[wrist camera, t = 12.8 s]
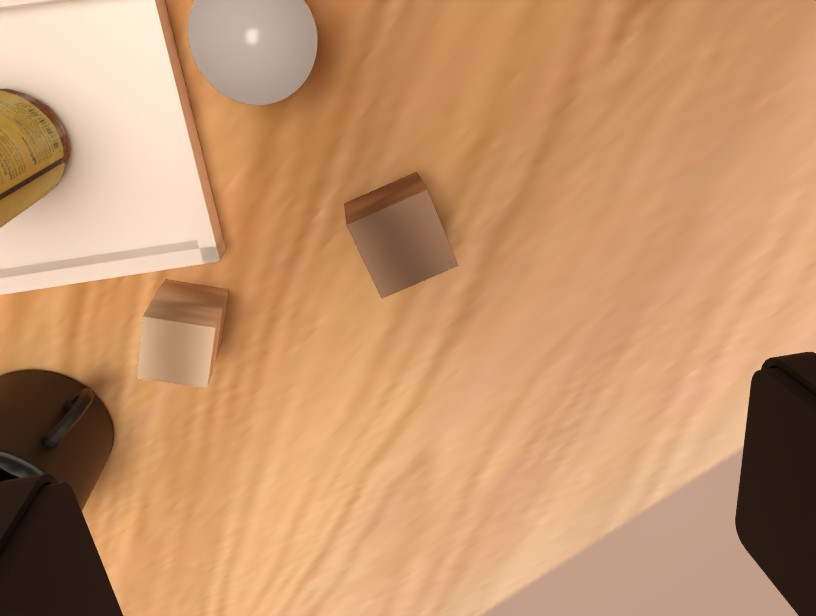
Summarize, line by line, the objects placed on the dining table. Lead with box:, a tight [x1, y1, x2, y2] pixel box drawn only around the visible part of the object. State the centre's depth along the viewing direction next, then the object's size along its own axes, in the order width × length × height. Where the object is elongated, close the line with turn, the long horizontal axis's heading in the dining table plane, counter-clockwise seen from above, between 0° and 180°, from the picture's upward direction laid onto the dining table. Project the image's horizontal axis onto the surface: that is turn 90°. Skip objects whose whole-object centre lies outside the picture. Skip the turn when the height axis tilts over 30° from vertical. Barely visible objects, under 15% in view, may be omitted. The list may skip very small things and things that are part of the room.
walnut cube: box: [344, 172, 458, 299], centre depth 41 cm, size 5×5×5 cm
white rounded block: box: [188, 0, 318, 105], centre depth 35 cm, size 6×6×7 cm
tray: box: [0, 0, 226, 295], centre depth 37 cm, size 20×16×2 cm
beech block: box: [137, 279, 229, 388], centre depth 41 cm, size 4×4×6 cm
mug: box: [0, 371, 113, 511], centre depth 41 cm, size 9×12×9 cm
